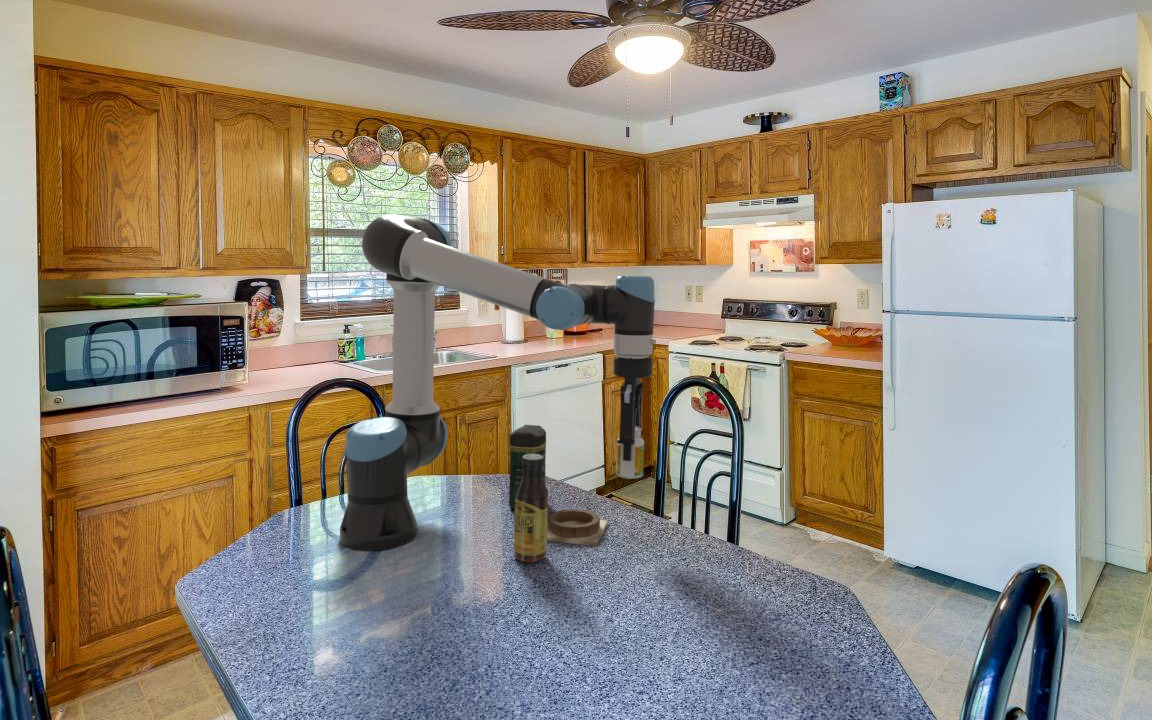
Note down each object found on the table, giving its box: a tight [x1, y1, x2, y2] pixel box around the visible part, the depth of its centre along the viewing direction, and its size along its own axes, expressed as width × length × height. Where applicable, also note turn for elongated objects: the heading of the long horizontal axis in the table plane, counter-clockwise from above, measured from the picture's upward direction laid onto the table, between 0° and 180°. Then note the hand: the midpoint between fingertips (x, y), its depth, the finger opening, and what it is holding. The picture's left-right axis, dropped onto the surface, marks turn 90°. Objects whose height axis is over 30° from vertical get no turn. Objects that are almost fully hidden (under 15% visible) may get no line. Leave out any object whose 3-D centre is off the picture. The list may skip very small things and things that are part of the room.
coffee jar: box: [508, 424, 547, 510], centre depth 158 cm, size 10×8×19 cm
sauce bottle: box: [513, 454, 549, 564], centre depth 129 cm, size 7×6×20 cm
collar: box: [547, 508, 609, 546], centre depth 143 cm, size 12×12×3 cm
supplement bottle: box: [615, 426, 645, 480], centre depth 136 cm, size 5×5×10 cm
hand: (629, 470), depth 137 cm, fingers closed on supplement bottle, 5 cm apart
